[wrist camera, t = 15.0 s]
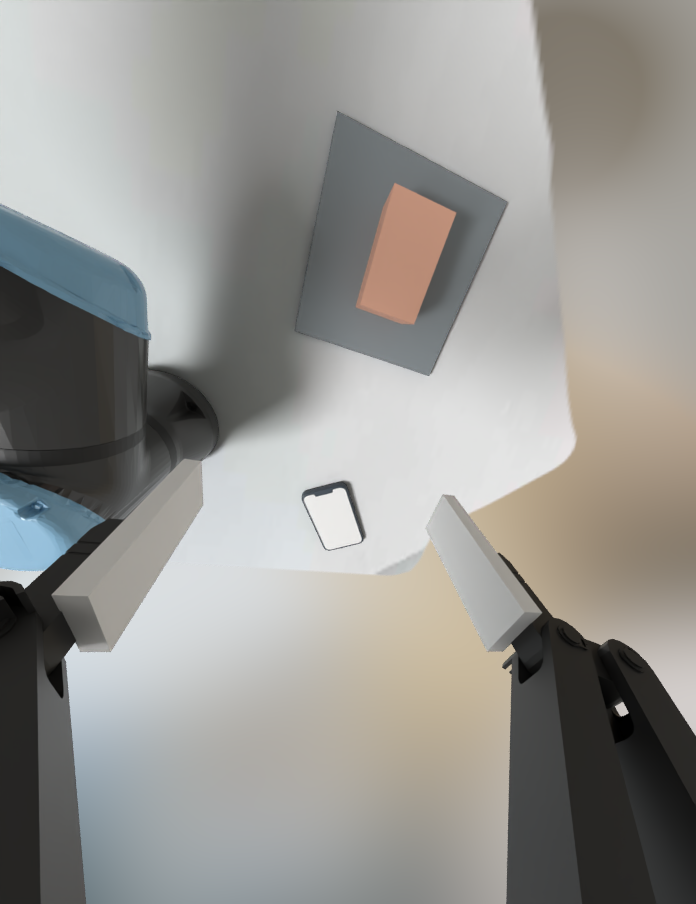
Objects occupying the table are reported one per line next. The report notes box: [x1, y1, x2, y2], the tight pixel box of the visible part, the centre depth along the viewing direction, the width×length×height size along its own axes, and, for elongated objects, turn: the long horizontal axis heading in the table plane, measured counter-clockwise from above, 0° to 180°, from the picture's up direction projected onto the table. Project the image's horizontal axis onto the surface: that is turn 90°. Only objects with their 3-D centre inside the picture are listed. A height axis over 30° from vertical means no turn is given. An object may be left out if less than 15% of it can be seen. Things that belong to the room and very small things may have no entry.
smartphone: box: [302, 482, 363, 550], centre depth 49 cm, size 9×2×16 cm
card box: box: [356, 183, 456, 324], centre depth 28 cm, size 10×6×6 cm, turn 163°
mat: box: [295, 111, 507, 376], centre depth 30 cm, size 20×20×1 cm
